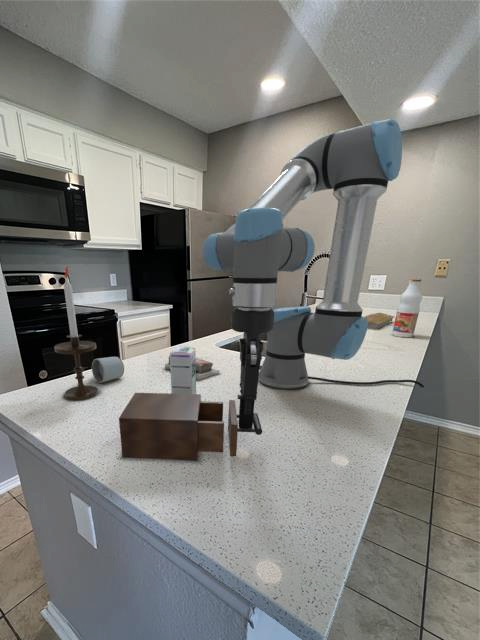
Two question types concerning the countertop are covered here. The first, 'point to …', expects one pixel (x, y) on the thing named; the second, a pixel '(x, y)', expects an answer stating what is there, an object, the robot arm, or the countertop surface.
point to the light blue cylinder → (107, 369)
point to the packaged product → (201, 368)
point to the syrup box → (183, 370)
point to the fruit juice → (408, 310)
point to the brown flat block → (378, 320)
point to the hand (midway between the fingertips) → (245, 426)
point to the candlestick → (75, 349)
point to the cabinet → (160, 426)
